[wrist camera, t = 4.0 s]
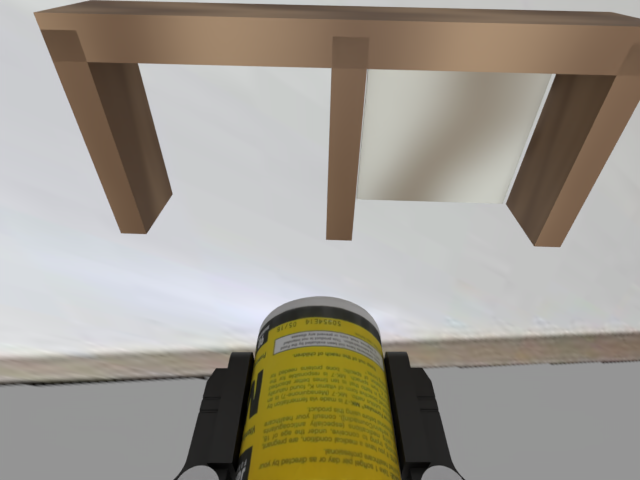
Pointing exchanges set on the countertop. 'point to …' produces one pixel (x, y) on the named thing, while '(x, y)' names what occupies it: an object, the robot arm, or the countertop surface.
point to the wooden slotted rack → (372, 98)
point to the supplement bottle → (319, 397)
